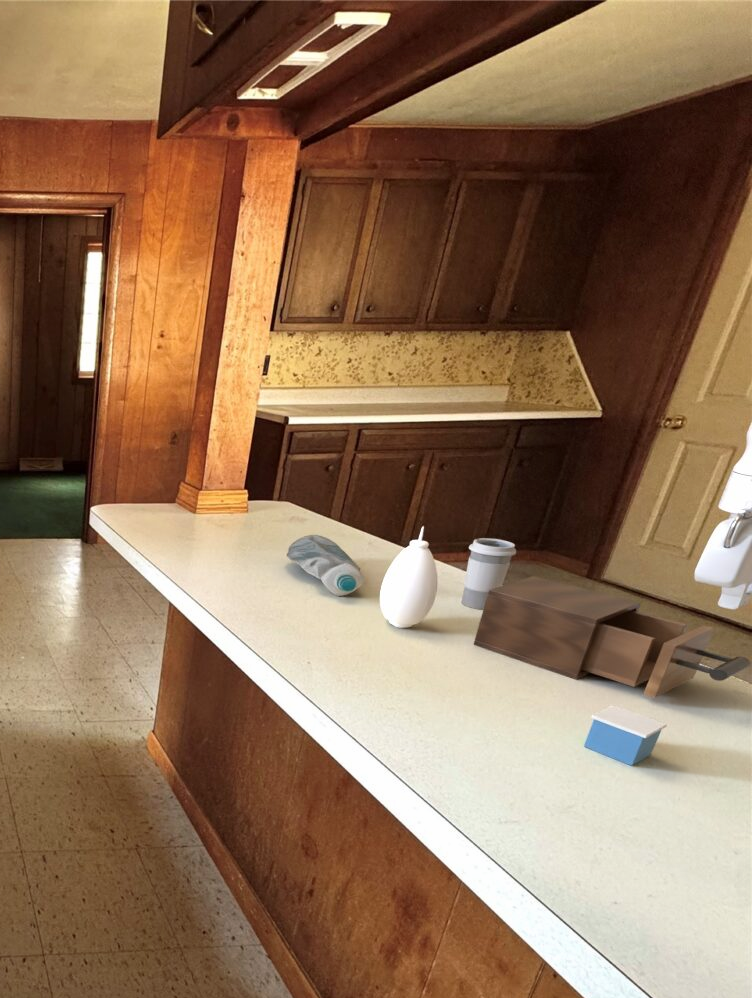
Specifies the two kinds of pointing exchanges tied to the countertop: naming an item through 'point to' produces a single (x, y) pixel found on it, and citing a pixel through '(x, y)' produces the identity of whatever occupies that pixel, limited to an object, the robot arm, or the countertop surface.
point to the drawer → (654, 652)
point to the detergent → (326, 563)
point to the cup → (485, 569)
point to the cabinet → (546, 622)
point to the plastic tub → (623, 734)
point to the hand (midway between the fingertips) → (731, 606)
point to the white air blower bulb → (409, 585)
